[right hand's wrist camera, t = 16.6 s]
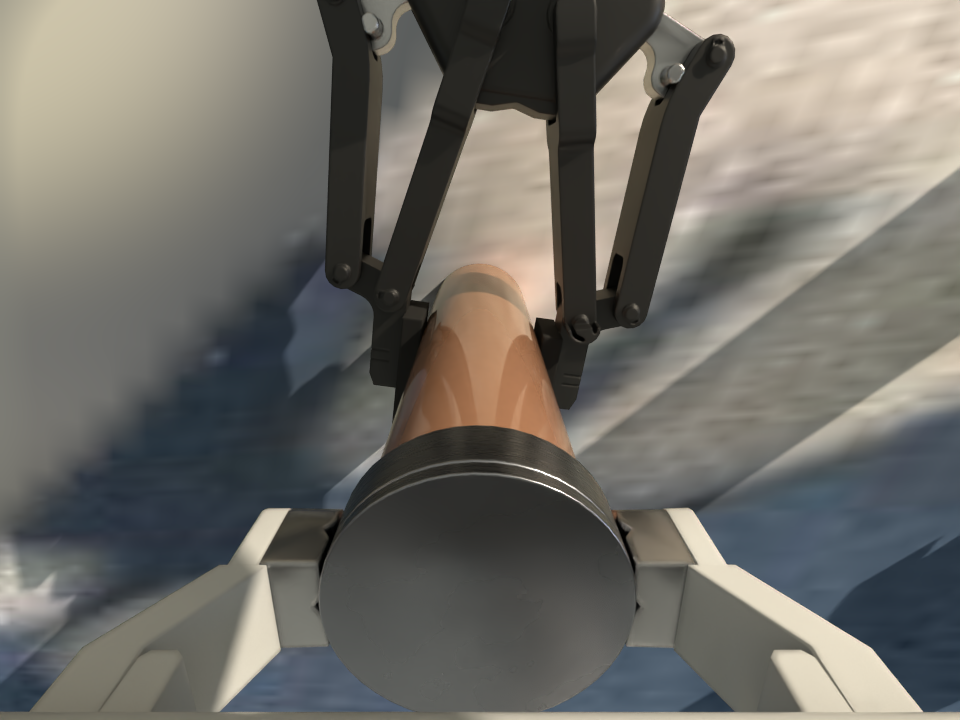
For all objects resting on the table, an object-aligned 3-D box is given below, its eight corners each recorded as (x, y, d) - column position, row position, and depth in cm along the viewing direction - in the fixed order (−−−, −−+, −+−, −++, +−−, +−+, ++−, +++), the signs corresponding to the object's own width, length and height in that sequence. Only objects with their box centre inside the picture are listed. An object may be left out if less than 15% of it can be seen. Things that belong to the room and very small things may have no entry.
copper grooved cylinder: (449, 360, 28) (395, 708, 10) (422, 277, 27) (301, 514, 9) (533, 337, 28) (633, 658, 10) (511, 252, 26) (579, 444, 8)
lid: (394, 669, 11) (381, 746, 10) (298, 464, 10) (265, 519, 8) (636, 616, 11) (661, 690, 9) (581, 390, 9) (601, 435, 8)
